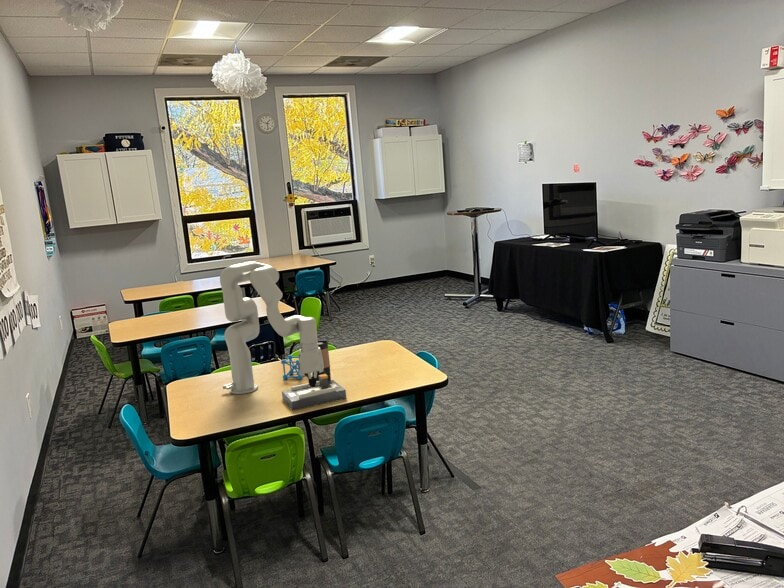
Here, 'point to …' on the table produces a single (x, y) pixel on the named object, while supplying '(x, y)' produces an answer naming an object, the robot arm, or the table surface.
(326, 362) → the travel mug
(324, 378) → the switch handle
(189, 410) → the table surface
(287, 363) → the molecular structure
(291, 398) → the switch panel
